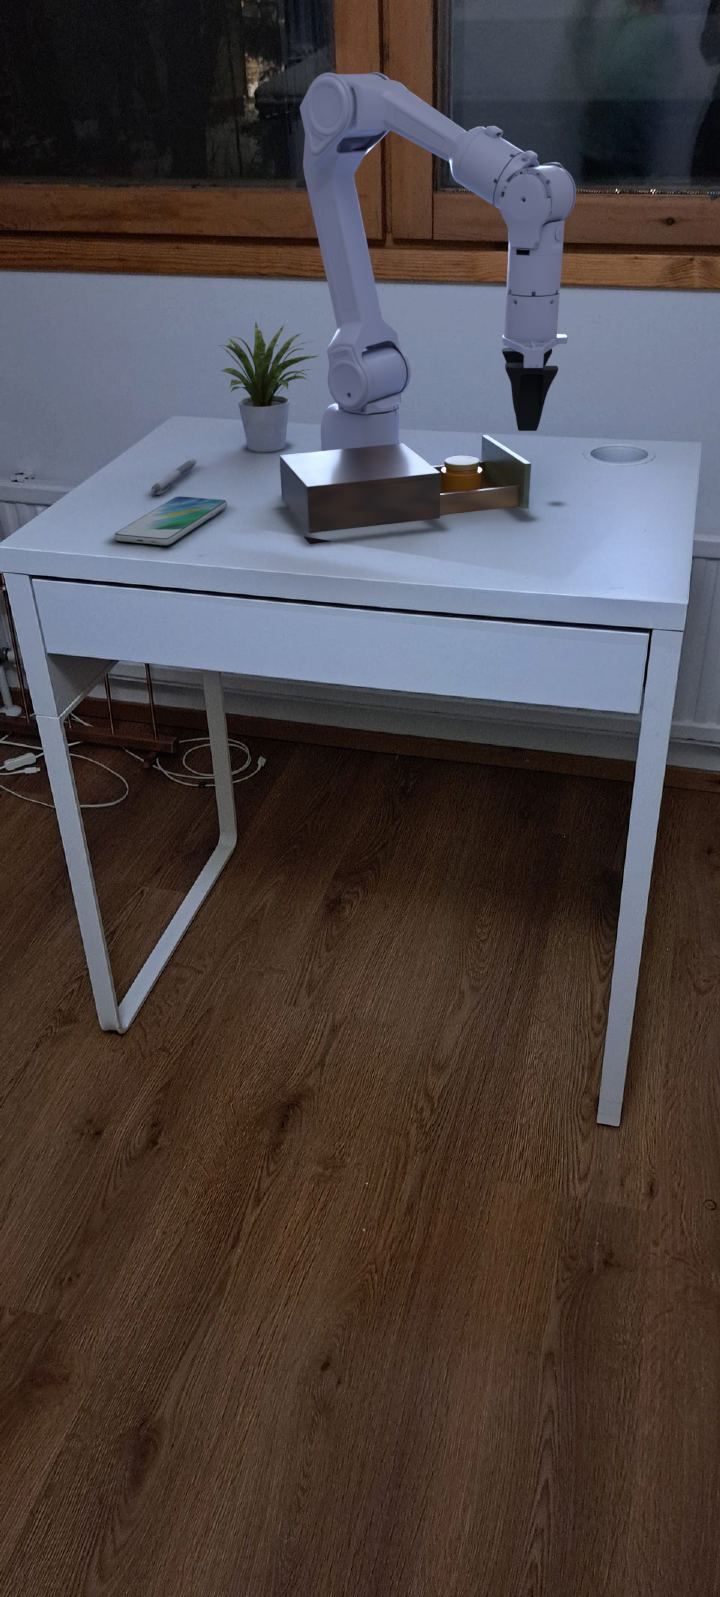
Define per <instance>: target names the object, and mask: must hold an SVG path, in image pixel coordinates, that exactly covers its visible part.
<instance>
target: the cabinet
mask: <svg viewBox="0 0 720 1597" xmlns="http://www.w3.org/2000/svg"><path fill="white" fill-rule="evenodd" d="M432 466H433V465H432V464H430V463H429V462H428V461H427V460H425V459H424V458H422V457H421V456H420V455H418V454H417V452H415V451H413V450H412V449H411V448H410V447H409V446H407V445H406V444H405V443H403V442H402V443H399V444H390V445H380V446H370V447H360V448H349V449H339V450H329V451H320V450H318V451H310V452H309V451H308V452H300V453H299V452H298V453H289V454H279V472H280V473H279V474H280V489H281V490H280V492H281V500H282V501H283V503H284V504H285V505H286V506H287V508H288V509H289V510H290V512H291V513H292V514H293V515H294V516H295V518H296V519H297V520H298V522H299V523H300V524H301V525H302V526H303V528H304V529H305V530H306V532H307V533H308V534H317V533H325V532H332V531H333V532H335V531H342V530H352V529H359V528H367V527H377V526H386V525H397V524H404V523H413V522H421V521H429V520H438V519H441V515H440V480H441V478H440V476H441V473H440V472H439V471H437V470H436V469H435V468H434V467H432ZM303 538H304V539H305V540H306V541H307V543H308V544H309V545H313V544H323V543H332V542H333V543H334V540H329V539H322V538H318V537H317V538H316V537H310V536H307V535H306V536H305V535H304V536H303Z"/></svg>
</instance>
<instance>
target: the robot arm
mask: <svg viewBox="0 0 720 1597" xmlns="http://www.w3.org/2000/svg"><path fill="white" fill-rule="evenodd" d="M299 112H300V116H301V120H302V125H303V130H304V144H303V146H304V147H303V158H302V159H303V161H302V169H303V175H304V178H305V179H304V180H305V184H306V188H307V193H308V198H309V202H310V207H311V211H312V217H313V221H314V225H315V230H316V234H317V239H318V244H319V248H320V253H321V259H322V263H323V268H324V272H325V277H326V282H327V286H328V290H329V295H330V299H331V300H330V301H331V304H332V305H331V306H332V310H333V314H334V318H335V323H336V324H335V325H336V332H335V334H334V335H333V337H332V339H331V341H330V343H329V345H328V347H327V349H326V353H327V357H328V372H327V386H328V391H329V393H330V395H331V397H332V399H333V401H334V402H335V403H331V404H330V405H329V406H328V407H327V408H326V409H325V410H324V413H323V415H322V419H321V425H320V447H321V448H320V450H321V451H329V450H339V449H349V448H360V447H370V446H380V445H390V444H400V407H399V406H400V404H401V403H402V394H403V393H404V392H405V391H406V389H407V388H408V387H409V384H410V381H411V374H412V372H411V364H410V360H409V359H408V357H407V355H406V353H405V352H404V350H403V349H402V347H401V344H400V341H399V337H398V333H397V331H396V330H395V329H394V328H393V327H392V326H391V325H390V324H389V323H388V322H386V320H384V319H383V315H382V311H381V307H380V301H379V296H378V292H377V286H376V280H375V276H374V272H373V266H372V262H371V257H370V256H371V255H370V252H369V246H368V240H367V236H366V231H365V226H364V222H363V216H362V211H361V206H360V201H359V196H358V191H357V187H356V182H355V181H356V180H355V173H356V172H357V170H358V168H359V166H360V165H361V163H362V161H363V159H364V157H365V156H366V155H367V154H368V153H369V152H370V151H371V150H372V149H373V148H374V147H375V146H376V145H377V144H378V143H379V142H380V141H381V140H382V139H383V138H384V137H385V136H386V135H387V134H388V133H389V132H390V131H391V132H393V133H396V134H397V135H399V136H401V137H403V138H405V139H407V140H408V141H410V142H412V143H414V144H415V145H417V146H419V147H421V148H422V149H425V151H428V152H430V153H432V154H434V155H435V156H437V157H438V158H441V159H442V160H445V161H446V162H447V163H449V166H450V171H451V175H452V178H453V180H454V181H455V182H456V183H457V184H459V185H461V186H462V187H464V188H465V189H467V190H468V191H470V192H472V193H473V194H475V195H476V196H478V197H479V198H480V199H483V200H484V201H485V202H487V203H489V204H490V205H492V206H493V207H495V208H497V209H499V212H500V214H501V217H502V219H503V220H504V222H505V224H506V227H507V242H508V249H507V250H508V251H507V252H508V253H507V270H506V292H505V312H504V333H503V334H502V338H501V343H502V345H503V346H505V347H503V348H502V349H501V353H502V355H503V358H504V361H505V363H504V370H505V373H506V374H507V377H508V379H509V382H510V387H511V399H512V406H513V407H512V408H513V411H514V414H515V421H516V427H517V430H518V432H536V431H538V429H539V425H540V422H541V418H542V416H543V415H542V414H543V409H544V405H545V402H546V398H547V395H548V393H549V390H550V388H551V386H552V383H553V382H554V380H555V379H556V377H557V375H558V373H559V367H558V365H547V364H548V361H549V359H550V358H551V356H552V354H553V348H554V347H556V346H558V345H567V344H568V335H567V334H564V333H558V324H559V311H560V310H559V309H560V308H559V307H560V293H561V283H562V282H561V280H562V269H563V268H562V267H563V265H562V264H563V252H564V236H565V222H566V219H567V218H568V217H569V216H570V215H571V213H572V211H573V210H574V208H575V205H576V200H577V186H576V183H575V180H574V178H573V176H572V175H571V173H570V172H569V171H568V170H567V169H566V168H564V167H563V165H562V164H561V163H560V162H546V163H543V164H541V165H540V163H539V161H538V158H539V157H538V154H537V153H536V152H534V151H532V150H525V151H523V150H522V149H520V148H519V147H516V145H514V144H512V143H511V142H509V141H507V140H506V139H504V138H502V136H503V133H504V130H502V129H501V128H499V127H498V126H496V125H487V126H486V127H485V126H482V125H481V126H480V125H479V126H476V127H474V128H472V129H469V130H468V131H466V129H464V128H463V127H461V126H460V125H459V124H457V123H455V121H452V120H451V119H450V118H448V117H447V116H446V115H445V114H443V113H442V112H440V111H439V110H437V109H436V108H434V107H433V106H431V105H430V104H429V103H427V102H426V101H425V100H423V99H422V98H420V97H419V96H417V95H416V94H414V93H413V92H412V91H410V90H409V89H408V88H407V87H406V86H405V85H404V84H403V83H402V82H400V81H397V80H394V79H390V78H389V77H388V76H387V75H385V74H383V73H381V72H377V71H372V72H368V73H341V74H340V73H339V74H338V73H335V72H323V73H322V74H320V75H318V76H316V77H315V78H314V80H312V82H311V84H310V86H309V87H308V89H307V92H306V94H305V96H304V97H303V100H302V101H301V104H300V106H299ZM364 349H365V350H364Z"/></svg>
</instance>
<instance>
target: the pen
mask: <svg viewBox="0 0 720 1597" xmlns="http://www.w3.org/2000/svg"><path fill="white" fill-rule="evenodd" d="M196 464H197V459H195V458H193V459H189V460H187V461H185V462H184V463H182V464H181V465H180V466H178V467H176V468H175V469H174V470H172V472H171V473H169V474H168V475H166V476H164V477H163V478H162V479H160V480H159V481H157V482H155V484H154V485H152V486H151V489H150V491H151V493H153V495H162V494H164V493H165V492H167V491H168V490H169V489H170V488H171V486H172V483H173V482H174V481H175V480H177V479H178V478H180V477H182V476H183V475H184V474H185V473H187V472H188V471H190V470H191V469H193V467H194V466H195V465H196Z"/></svg>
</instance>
